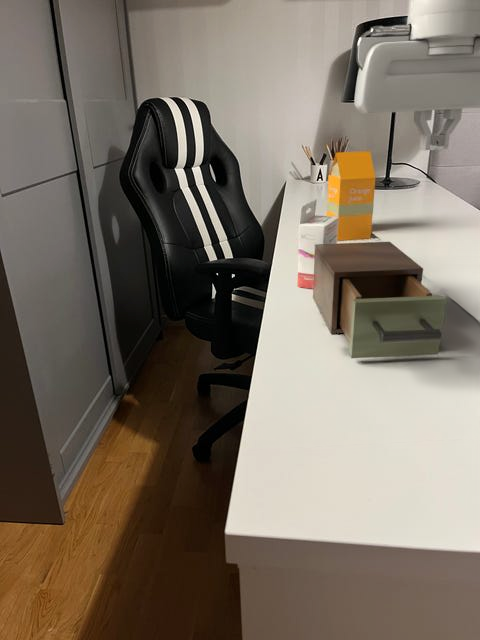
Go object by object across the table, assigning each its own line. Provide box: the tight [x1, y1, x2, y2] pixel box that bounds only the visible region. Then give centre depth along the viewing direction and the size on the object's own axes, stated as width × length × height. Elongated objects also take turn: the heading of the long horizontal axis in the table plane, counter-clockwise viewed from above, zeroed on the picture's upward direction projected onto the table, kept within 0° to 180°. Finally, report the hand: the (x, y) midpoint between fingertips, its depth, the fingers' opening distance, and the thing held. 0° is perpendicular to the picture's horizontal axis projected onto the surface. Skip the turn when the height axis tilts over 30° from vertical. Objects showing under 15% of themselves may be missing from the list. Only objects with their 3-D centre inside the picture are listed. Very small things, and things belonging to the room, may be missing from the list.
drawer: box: [337, 274, 447, 359], centre depth 67 cm, size 18×11×8 cm, turn 3°
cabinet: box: [312, 241, 424, 335], centre depth 78 cm, size 15×13×10 cm
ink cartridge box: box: [297, 199, 339, 290], centre depth 91 cm, size 9×5×15 cm, turn 154°
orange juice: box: [326, 150, 377, 242], centre depth 120 cm, size 8×9×20 cm
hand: (433, 149), depth 63 cm, fingers closed
